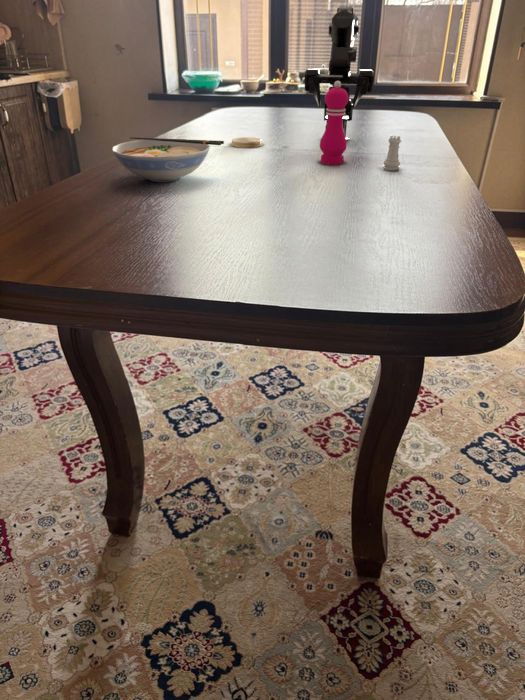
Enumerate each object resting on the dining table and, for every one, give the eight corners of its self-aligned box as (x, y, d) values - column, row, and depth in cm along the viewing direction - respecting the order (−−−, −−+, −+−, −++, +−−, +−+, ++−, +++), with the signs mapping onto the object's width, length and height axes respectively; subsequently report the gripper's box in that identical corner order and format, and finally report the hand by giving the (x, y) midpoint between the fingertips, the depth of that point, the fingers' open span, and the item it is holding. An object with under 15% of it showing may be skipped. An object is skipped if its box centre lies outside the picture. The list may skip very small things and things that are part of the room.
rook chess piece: (401, 168, 137) (405, 135, 133) (397, 171, 134) (402, 138, 129) (384, 166, 139) (388, 134, 134) (380, 170, 135) (384, 137, 131)
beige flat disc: (250, 141, 170) (250, 136, 170) (267, 145, 164) (267, 140, 163) (225, 144, 165) (225, 139, 165) (242, 148, 159) (242, 143, 158)
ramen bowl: (92, 185, 121) (86, 147, 116) (144, 165, 139) (140, 132, 135) (189, 195, 113) (186, 156, 109) (230, 173, 132) (229, 138, 127)
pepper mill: (315, 164, 141) (320, 81, 131) (323, 158, 147) (328, 79, 136) (341, 166, 139) (348, 82, 128) (348, 161, 144) (355, 80, 134)
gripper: (306, 34, 139) (301, 84, 135) (377, 35, 136) (374, 85, 133) (307, 66, 150) (302, 113, 146) (373, 67, 147) (369, 115, 144)
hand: (336, 106), depth 142 cm, fingers open, 9 cm apart
